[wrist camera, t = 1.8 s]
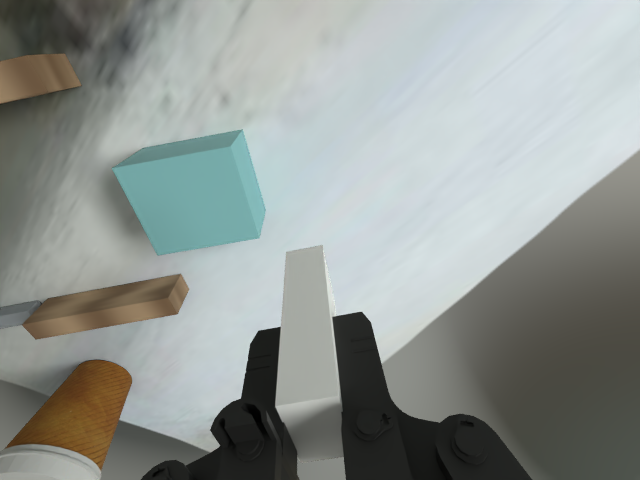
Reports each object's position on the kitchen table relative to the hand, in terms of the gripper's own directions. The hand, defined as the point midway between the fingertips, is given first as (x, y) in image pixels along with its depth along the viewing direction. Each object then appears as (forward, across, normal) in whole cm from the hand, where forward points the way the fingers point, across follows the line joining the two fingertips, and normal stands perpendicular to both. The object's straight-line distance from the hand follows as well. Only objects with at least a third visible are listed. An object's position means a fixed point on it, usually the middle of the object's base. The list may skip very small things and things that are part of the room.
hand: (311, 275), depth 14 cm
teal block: (+15, -8, 0) cm, 17 cm away
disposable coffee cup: (+15, -29, -21) cm, 39 cm away
